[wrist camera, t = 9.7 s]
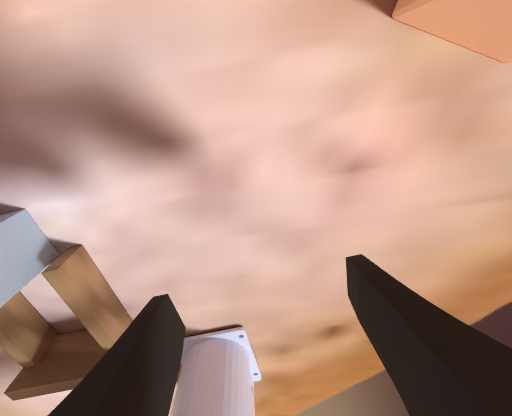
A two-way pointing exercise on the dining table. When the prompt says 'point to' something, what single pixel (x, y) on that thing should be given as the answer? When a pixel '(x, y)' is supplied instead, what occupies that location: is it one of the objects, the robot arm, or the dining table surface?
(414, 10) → the soap dispenser
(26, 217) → the tethered block
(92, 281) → the walnut lane
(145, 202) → the dining table surface
